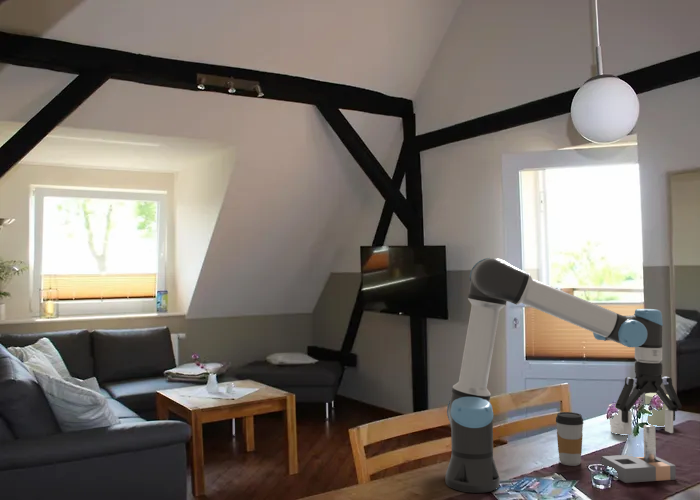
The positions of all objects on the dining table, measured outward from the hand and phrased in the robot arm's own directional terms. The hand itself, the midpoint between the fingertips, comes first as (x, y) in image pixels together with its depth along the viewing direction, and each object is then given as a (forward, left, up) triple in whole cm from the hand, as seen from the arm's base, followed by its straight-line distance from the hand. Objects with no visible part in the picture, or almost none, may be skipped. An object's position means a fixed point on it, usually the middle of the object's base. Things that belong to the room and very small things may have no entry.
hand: (648, 432), depth 192 cm
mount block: (-4, 0, -12) cm, 13 cm away
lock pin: (0, 0, -12) cm, 12 cm away
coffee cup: (-18, +14, -12) cm, 26 cm away
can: (+39, +51, -12) cm, 65 cm away
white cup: (+18, +43, -12) cm, 48 cm away
